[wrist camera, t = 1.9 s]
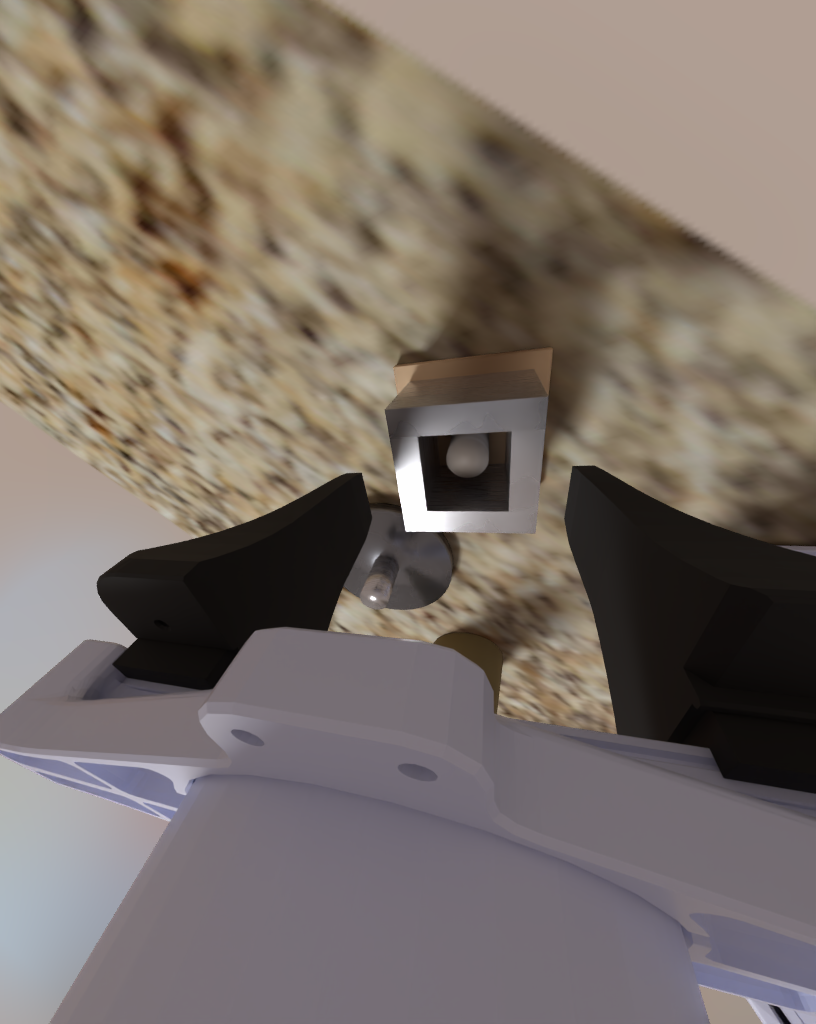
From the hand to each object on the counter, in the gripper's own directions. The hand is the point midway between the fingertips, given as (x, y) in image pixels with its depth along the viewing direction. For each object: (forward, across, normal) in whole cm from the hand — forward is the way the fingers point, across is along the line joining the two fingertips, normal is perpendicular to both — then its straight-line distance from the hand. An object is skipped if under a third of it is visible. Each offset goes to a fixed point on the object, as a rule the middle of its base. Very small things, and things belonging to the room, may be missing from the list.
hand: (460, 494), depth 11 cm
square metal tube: (+6, 0, 0) cm, 6 cm away
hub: (+7, +6, +9) cm, 13 cm away
